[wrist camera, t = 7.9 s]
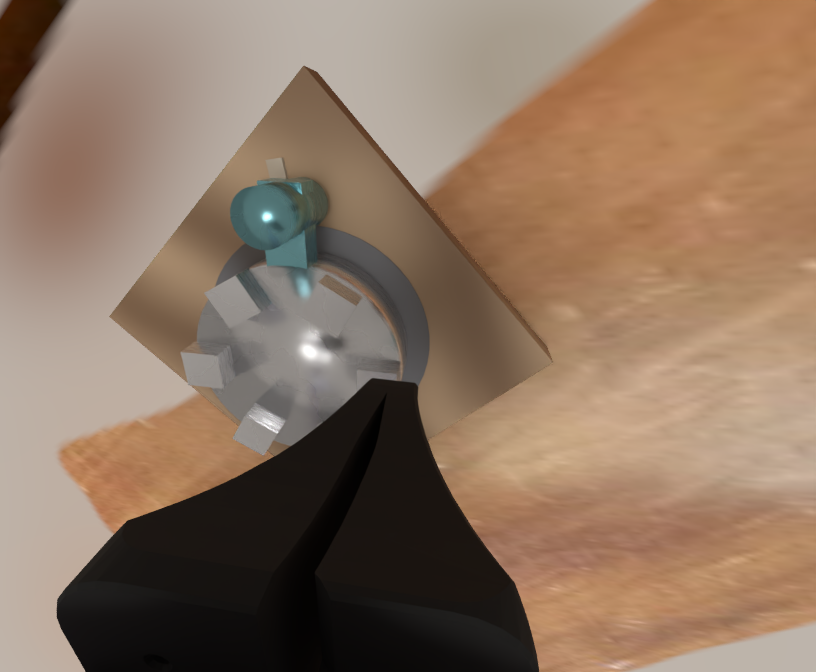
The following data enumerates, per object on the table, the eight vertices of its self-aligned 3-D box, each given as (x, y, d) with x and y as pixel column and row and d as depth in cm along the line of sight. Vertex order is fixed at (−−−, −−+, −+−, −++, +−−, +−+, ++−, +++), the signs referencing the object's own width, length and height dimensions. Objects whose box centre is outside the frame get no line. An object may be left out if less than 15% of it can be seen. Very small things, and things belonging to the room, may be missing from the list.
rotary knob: (404, 427, 21) (391, 487, 17) (240, 408, 22) (195, 462, 18) (414, 182, 16) (398, 194, 12) (198, 171, 17) (122, 178, 13)
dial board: (335, 483, 26) (327, 504, 25) (130, 306, 22) (106, 318, 21) (547, 347, 20) (554, 364, 19) (317, 71, 16) (301, 64, 15)
